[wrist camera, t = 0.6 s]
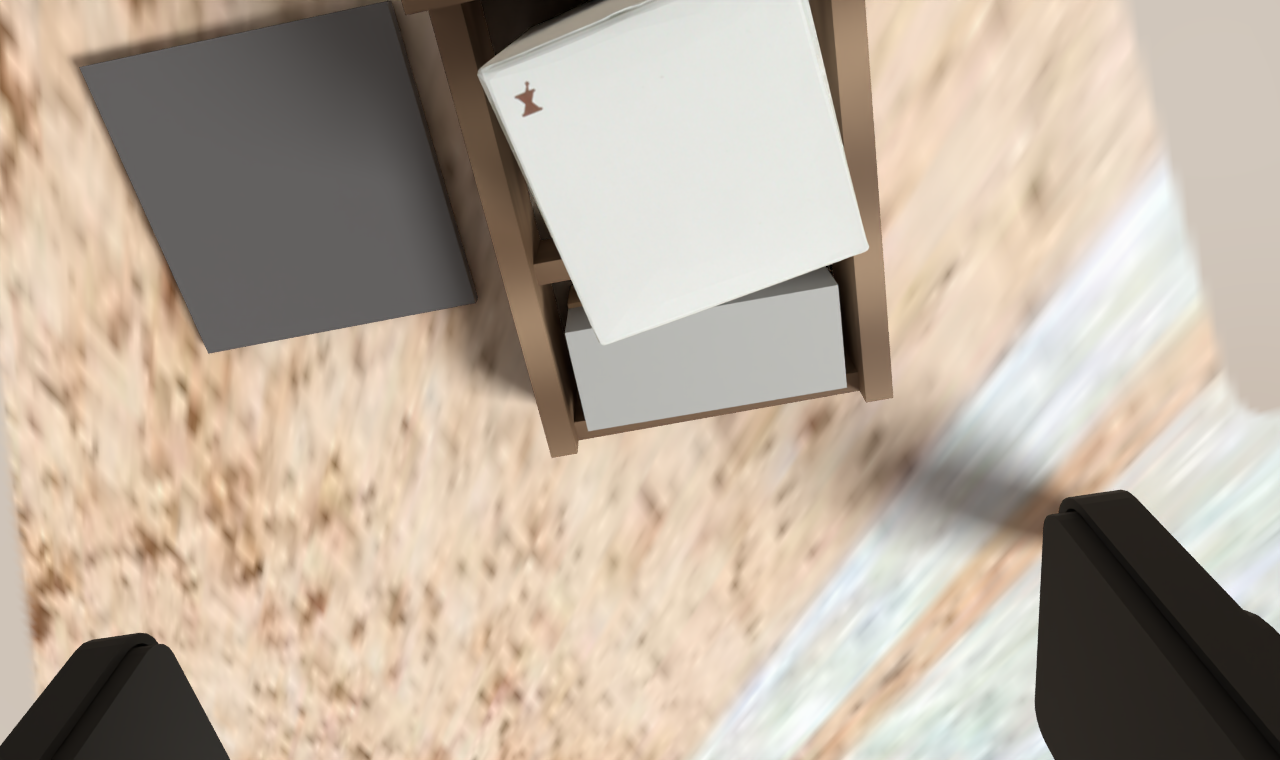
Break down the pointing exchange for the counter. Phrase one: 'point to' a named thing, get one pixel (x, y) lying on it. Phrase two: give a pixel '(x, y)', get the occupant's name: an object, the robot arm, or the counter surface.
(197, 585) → the counter surface
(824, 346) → the upper offcut
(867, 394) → the walnut rack
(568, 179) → the supplement box
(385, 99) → the rubber mat
